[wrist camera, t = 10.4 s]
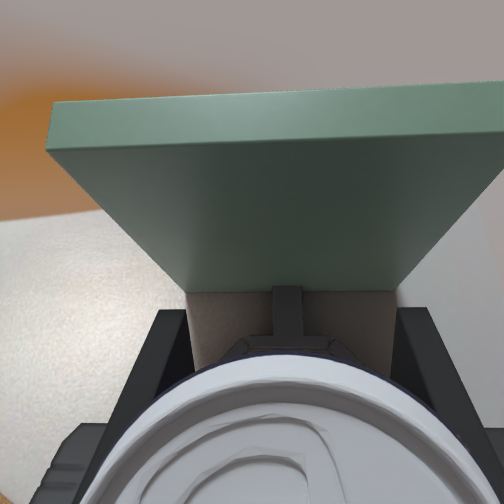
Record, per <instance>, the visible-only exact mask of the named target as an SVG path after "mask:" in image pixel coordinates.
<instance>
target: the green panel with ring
mask: <svg viewBox="0 0 504 504" xmlns="http://www.w3.org/2000/svg"><path fill="white" fill-rule="evenodd" d="M45 149H46V152H47V153H48V154H49V155H50V156H51V157H52V158H53V159H54V160H55V161H56V162H57V163H58V164H59V165H60V166H61V167H62V168H63V169H64V170H65V171H66V172H67V173H68V174H69V175H70V176H71V177H72V178H73V179H74V180H75V181H76V182H77V183H78V184H79V185H80V186H81V187H82V188H83V189H84V190H85V191H86V192H87V193H88V194H89V195H90V196H91V197H92V198H93V200H95V201H96V203H97V204H98V205H99V206H100V207H101V208H102V209H103V210H104V211H105V212H106V213H107V214H108V215H109V216H110V217H111V218H112V219H113V220H114V221H115V222H116V223H117V224H118V225H119V226H120V227H121V228H122V229H123V230H124V231H125V232H126V233H127V234H128V235H129V236H130V237H131V238H132V239H133V240H134V241H135V242H136V243H137V244H138V245H139V246H140V247H141V248H142V249H143V250H144V251H145V252H146V253H147V254H148V255H149V256H150V257H151V258H152V259H153V260H154V261H155V262H156V263H157V264H158V265H159V266H160V267H161V268H162V269H163V270H164V271H165V272H166V273H167V274H168V275H169V276H170V277H171V279H172V280H173V281H174V282H175V283H176V284H177V285H178V286H179V287H180V288H181V289H182V290H183V291H184V292H186V293H206V292H273V335H249V336H248V344H247V343H246V342H245V341H244V340H243V339H240V340H239V341H238V342H237V343H236V344H235V345H234V346H233V347H232V348H231V349H230V350H229V351H228V352H227V353H226V354H225V355H224V356H223V357H222V358H221V359H220V360H219V361H222V360H225V359H229V358H232V357H235V356H240V355H244V354H246V353H247V352H248V351H249V350H250V348H251V349H328V350H329V351H330V352H331V353H332V354H333V355H334V356H335V357H338V358H342V359H345V360H348V361H351V362H354V363H357V364H360V365H362V366H364V367H366V366H365V365H364V364H363V363H362V362H361V361H360V360H359V359H358V358H357V357H356V356H354V355H353V354H352V353H351V352H350V351H349V350H348V349H347V348H346V347H345V346H344V345H343V344H342V343H341V342H340V341H339V340H338V339H334V340H333V341H332V342H331V343H330V344H329V337H328V335H303V298H302V292H303V291H393V290H395V289H396V288H397V287H398V286H399V284H400V283H401V282H402V281H403V280H404V279H405V278H406V277H407V276H408V274H409V273H410V272H411V271H412V270H413V269H414V268H415V267H416V266H417V264H418V263H419V262H420V261H421V260H422V259H423V258H424V257H425V256H426V254H427V253H428V252H429V251H430V250H431V249H432V248H433V247H434V246H435V244H436V243H437V242H438V241H439V240H440V239H441V238H442V237H443V236H444V234H445V233H446V232H447V231H448V230H449V229H450V228H451V227H452V226H453V224H454V223H455V222H456V221H457V220H458V219H459V218H460V217H461V216H462V214H463V213H464V212H465V211H466V210H467V209H468V208H469V207H470V206H471V204H472V203H473V202H474V201H475V200H476V199H477V198H478V197H479V196H480V194H481V193H482V192H483V191H484V190H485V189H486V188H487V187H488V186H489V184H490V183H491V182H492V181H493V180H494V179H495V178H496V176H497V175H498V174H499V173H500V172H501V171H502V170H503V169H504V81H486V82H464V83H445V84H444V83H443V84H424V85H423V84H422V85H402V86H381V87H360V88H339V89H319V90H297V91H275V92H256V93H255V92H254V93H233V94H212V95H193V96H192V95H191V96H171V97H150V98H129V99H109V100H108V99H107V100H88V101H65V102H54V103H53V106H52V112H51V118H50V124H49V129H48V136H47V141H46V147H45ZM219 361H218V362H219Z"/></svg>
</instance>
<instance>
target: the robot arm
mask: <svg viewBox="0 0 504 504" xmlns="http://www.w3.org/2000/svg"><path fill="white" fill-rule="evenodd" d="M194 372H195V367H194V361H193V354H192V347H191V341H190V334H189V327H188V321H187V314H186V309H168V310H159V311H158V313H157V315H156V317H155V320H154V322H153V324H152V326H151V328H150V331H149V333H148V335H147V337H146V340H145V342H144V344H143V346H142V348H141V351H140V353H139V355H138V357H137V359H136V362H135V364H134V366H133V368H132V371H131V373H130V375H129V377H128V379H127V382H126V384H125V386H124V388H123V390H122V393H121V395H120V397H119V399H118V402H117V404H116V406H115V408H114V410H113V413H112V415H111V417H110V419H109V422H108V423H81V424H80V425H79V426H78V427H77V428H76V429H75V430H74V431H73V432H72V433H71V434H70V435H69V436H68V437H67V438H66V439H65V440H64V441H63V442H62V443H61V445H60V447H59V449H58V451H57V453H56V454H55V456H54V458H53V460H52V462H51V466H50V468H48V469H47V471H46V473H45V475H44V477H43V479H42V480H41V485H40V487H38V488H37V490H36V492H35V493H34V495H33V497H32V499H31V501H30V503H29V504H80V502H81V501H82V499H83V497H84V495H85V494H86V492H87V490H88V487H89V485H90V483H91V481H92V479H93V477H94V475H95V473H96V471H97V469H98V467H99V466H100V464H101V462H102V461H103V459H104V457H105V456H106V454H107V452H108V451H109V449H110V448H111V447H112V445H113V444H114V442H115V441H116V439H117V438H118V437H119V435H120V434H121V433H122V432H123V430H124V429H125V428H126V427H127V425H128V424H129V423H130V422H131V421H132V420H133V419H134V418H135V417H136V416H137V415H138V413H139V412H140V411H142V410H143V409H144V408H145V407H146V406H147V405H148V404H149V403H150V402H151V401H152V400H154V399H155V398H156V397H157V396H159V395H160V394H161V393H162V392H163V391H165V390H166V389H168V388H169V387H171V386H172V385H173V384H175V383H176V382H178V381H180V380H181V379H183V378H185V377H186V376H188V375H190V374H192V373H194ZM390 379H391V380H393V381H394V382H396V383H398V384H399V385H401V386H402V387H404V388H406V389H407V390H409V391H410V392H411V393H413V394H414V395H415V396H417V397H418V398H419V399H421V400H422V401H423V402H424V403H426V404H427V405H428V406H429V407H430V408H431V409H433V410H434V411H435V412H436V413H437V414H438V415H439V416H440V417H441V418H442V419H443V420H444V421H445V422H446V423H447V424H448V425H449V426H450V427H451V428H452V429H453V430H454V431H455V432H456V433H457V434H458V436H459V437H460V438H461V439H462V440H463V441H464V443H465V444H466V445H467V447H468V448H469V449H470V450H471V452H472V453H473V454H474V456H475V457H476V458H477V460H478V461H479V463H480V464H481V466H482V467H483V469H484V470H485V472H486V473H487V475H488V477H489V478H490V480H491V482H492V484H493V485H494V487H495V489H496V490H497V492H498V494H499V496H500V498H501V500H502V502H503V504H504V428H484V427H483V425H482V423H481V421H480V419H479V417H478V414H477V412H476V410H475V408H474V406H473V404H472V402H471V400H470V398H469V396H468V393H467V391H466V389H465V387H464V385H463V383H462V381H461V379H460V377H459V374H458V372H457V370H456V368H455V366H454V364H453V362H452V360H451V358H450V355H449V353H448V351H447V349H446V347H445V345H444V343H443V341H442V339H441V337H440V334H439V332H438V330H437V328H436V326H435V324H434V322H433V320H432V318H431V315H430V313H429V311H428V309H427V307H400V308H397V314H396V324H395V334H394V344H393V354H392V364H391V375H390Z"/></svg>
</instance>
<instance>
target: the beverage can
mask: <svg viewBox="0 0 504 504" xmlns="http://www.w3.org/2000/svg"><path fill="white" fill-rule="evenodd" d="M80 504H503V502H502V500H501V498H500V496H499V494H498V492H497V490H496V489H495V487H494V485H493V484H492V482H491V480H490V478H489V477H488V475H487V473H486V472H485V470H484V469H483V467H482V466H481V464H480V463H479V461H478V460H477V458H476V457H475V456H474V454H473V453H472V452H471V450H470V449H469V448H468V447H467V445H466V444H465V443H464V441H463V440H462V439H461V438H460V437H459V436H458V434H457V433H456V432H455V431H454V430H453V429H452V428H451V427H450V426H449V425H448V424H447V423H446V422H445V421H444V420H443V419H442V418H441V417H440V416H439V415H438V414H437V413H436V412H435V411H434V410H433V409H431V408H430V407H429V406H428V405H427V404H426V403H424V402H423V401H422V400H421V399H419V398H418V397H417V396H415V395H414V394H413V393H411V392H410V391H409V390H407V389H406V388H404V387H402V386H401V385H399V384H398V383H396V382H394V381H393V380H391V379H389V378H387V377H385V376H384V375H382V374H380V373H378V372H376V371H374V370H371V369H369V368H367V367H364V366H362V365H360V364H357V363H354V362H351V361H348V360H345V359H342V358H338V357H334V356H330V355H325V354H320V353H315V352H306V351H292V350H277V351H263V352H256V353H249V354H244V355H240V356H235V357H232V358H229V359H225V360H222V361H219V362H217V363H214V364H211V365H209V366H206V367H204V368H202V369H200V370H198V371H196V372H194V373H192V374H190V375H188V376H186V377H185V378H183V379H181V380H180V381H178V382H176V383H175V384H173V385H172V386H171V387H169V388H168V389H166V390H165V391H163V392H162V393H161V394H160V395H159V396H157V397H156V398H155V399H154V400H152V401H151V402H150V403H149V404H148V405H147V406H146V407H145V408H144V409H143V410H142V411H140V412H139V413H138V415H137V416H136V417H135V418H134V419H133V420H132V421H131V422H130V423H129V424H128V425H127V427H126V428H125V429H124V430H123V432H122V433H121V434H120V435H119V437H118V438H117V439H116V441H115V442H114V444H113V445H112V447H111V448H110V449H109V451H108V452H107V454H106V456H105V457H104V459H103V461H102V462H101V464H100V466H99V467H98V469H97V471H96V473H95V475H94V477H93V479H92V481H91V483H90V485H89V487H88V490H87V492H86V494H85V495H84V497H83V499H82V501H81V502H80Z"/></svg>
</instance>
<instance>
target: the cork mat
mask: <svg viewBox="0 0 504 504" xmlns="http://www.w3.org/2000/svg"><path fill="white" fill-rule="evenodd" d="M0 504H13V503H12V502H10V501H9V500H8V499H7V498H6V497H4V496H3V495H2V494H1V493H0Z"/></svg>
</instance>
